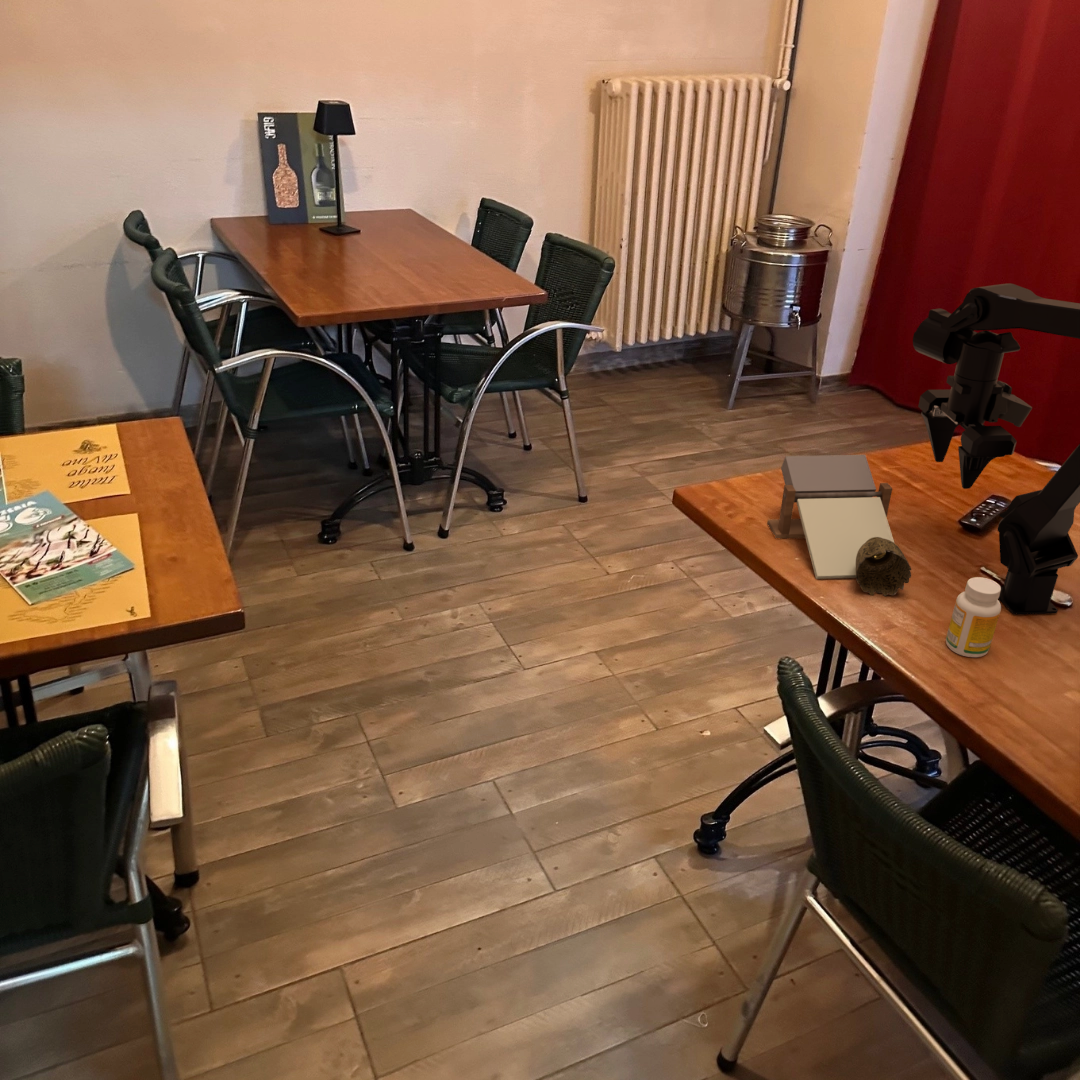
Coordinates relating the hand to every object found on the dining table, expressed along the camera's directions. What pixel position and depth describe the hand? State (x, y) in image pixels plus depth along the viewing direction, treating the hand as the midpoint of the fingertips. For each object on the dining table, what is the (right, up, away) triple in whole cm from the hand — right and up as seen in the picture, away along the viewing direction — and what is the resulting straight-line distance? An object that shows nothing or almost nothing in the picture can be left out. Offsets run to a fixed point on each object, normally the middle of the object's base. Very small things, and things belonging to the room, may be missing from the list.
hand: (952, 474), depth 146 cm
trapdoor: (-15, -7, +7) cm, 18 cm away
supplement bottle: (-5, -24, -17) cm, 30 cm away
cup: (-12, -10, -2) cm, 16 cm away
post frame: (-16, -8, +11) cm, 21 cm away
